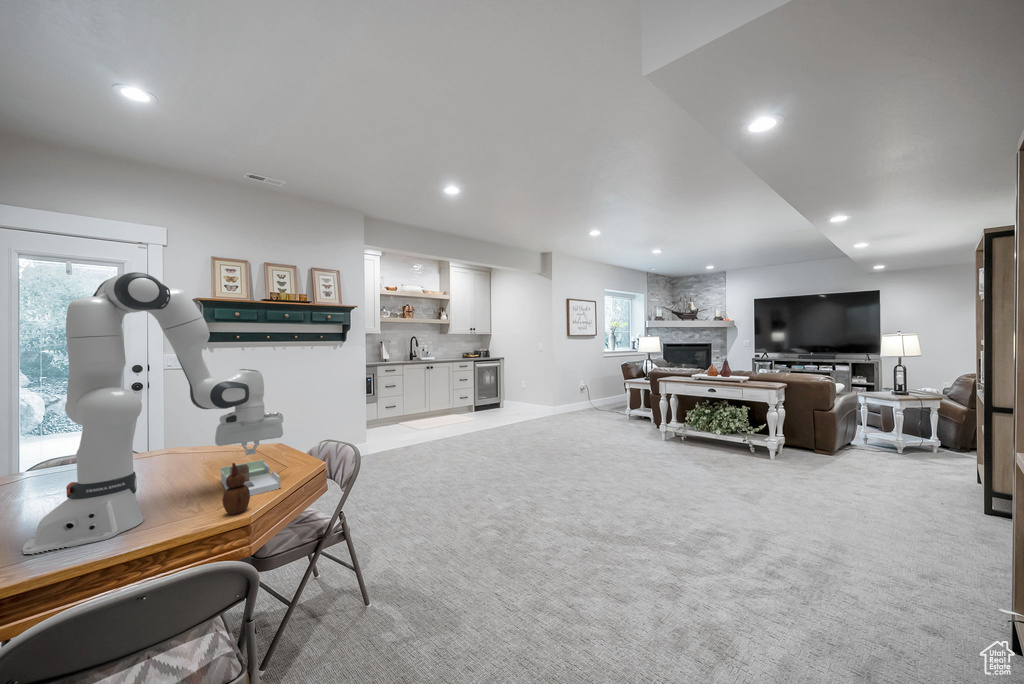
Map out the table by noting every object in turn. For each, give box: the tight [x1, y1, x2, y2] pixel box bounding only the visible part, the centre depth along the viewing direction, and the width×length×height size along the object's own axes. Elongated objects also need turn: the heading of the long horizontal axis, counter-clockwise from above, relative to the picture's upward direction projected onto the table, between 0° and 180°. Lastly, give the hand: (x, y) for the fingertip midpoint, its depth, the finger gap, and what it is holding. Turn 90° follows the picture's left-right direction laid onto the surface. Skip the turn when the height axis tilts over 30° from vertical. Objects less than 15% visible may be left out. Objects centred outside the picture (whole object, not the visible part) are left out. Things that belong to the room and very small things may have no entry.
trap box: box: [220, 459, 281, 497], centre depth 147 cm, size 14×28×5 cm, turn 41°
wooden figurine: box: [222, 462, 251, 515], centre depth 122 cm, size 7×6×15 cm
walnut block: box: [230, 464, 249, 482], centre depth 145 cm, size 5×5×5 cm
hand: (250, 454), depth 146 cm, fingers closed
